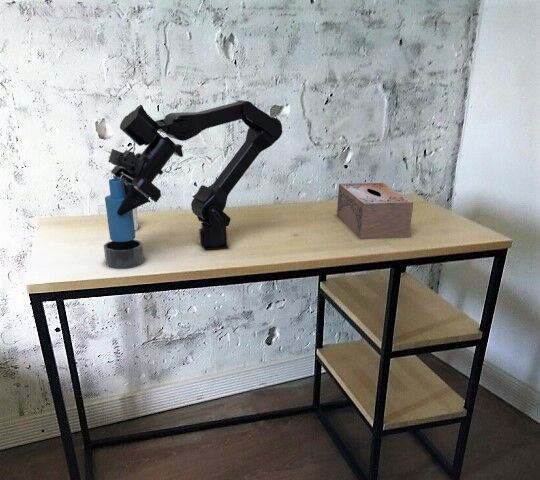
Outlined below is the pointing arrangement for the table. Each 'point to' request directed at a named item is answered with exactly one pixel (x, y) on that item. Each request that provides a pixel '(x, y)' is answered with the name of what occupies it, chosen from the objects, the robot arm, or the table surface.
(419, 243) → the table surface
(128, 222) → the bottle
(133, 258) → the cup holder
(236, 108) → the robot arm
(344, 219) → the tissue box cover
